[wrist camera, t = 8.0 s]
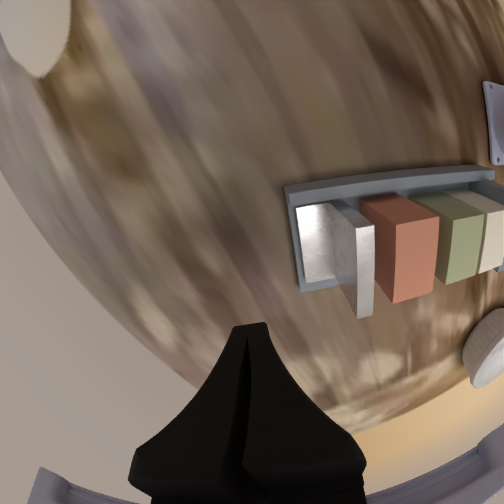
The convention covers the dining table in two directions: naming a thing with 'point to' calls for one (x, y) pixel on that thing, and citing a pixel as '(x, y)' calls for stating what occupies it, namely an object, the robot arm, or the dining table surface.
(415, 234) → the rust book
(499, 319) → the ramekin
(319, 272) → the bookend
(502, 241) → the cream book
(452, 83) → the dining table surface
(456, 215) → the olive block
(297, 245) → the shelf
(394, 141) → the dining table surface
